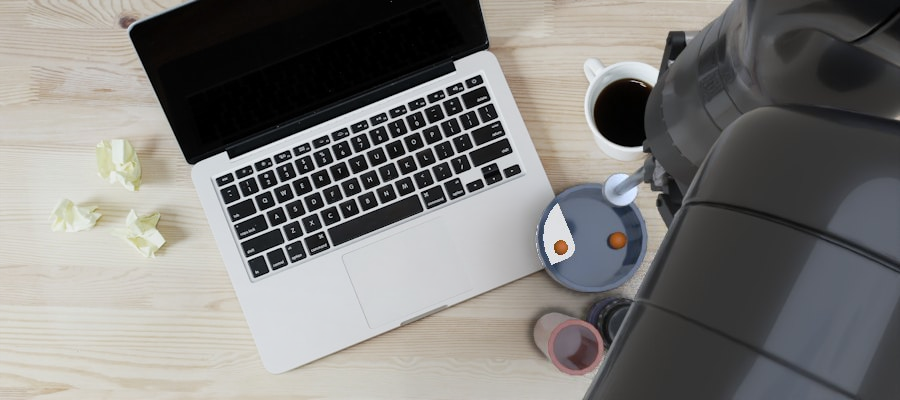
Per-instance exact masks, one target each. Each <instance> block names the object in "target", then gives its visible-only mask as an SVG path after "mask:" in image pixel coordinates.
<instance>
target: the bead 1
mask: <svg viewBox="0 0 900 400" xmlns="http://www.w3.org/2000/svg"><path fill="white" fill-rule="evenodd" d="M554 250H555V253H557V254H558V255H563V254H565V253H566V252H567V250H568V245H567V244H566V242H565V241H563V240H559V241H557V242H556V243H555V244H554Z"/></svg>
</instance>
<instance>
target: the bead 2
mask: <svg viewBox="0 0 900 400" xmlns="http://www.w3.org/2000/svg"><path fill="white" fill-rule="evenodd" d="M609 242H610V245H611V246H612V247H613V248H615V249H621V248H623V247H624V246H625V245H626V243H627V238H626V236H625V235H624V234H623V233H621V232H615V233H613V234H612V235H611V236H610V239H609Z"/></svg>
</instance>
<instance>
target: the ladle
mask: <svg viewBox="0 0 900 400" xmlns="http://www.w3.org/2000/svg"><path fill="white" fill-rule="evenodd" d="M655 160H656V158H655V156H654V155H653V153H650V154H649V155H648V156H647V157H646V158H645V159H644V161H643V165H642V166H640V167H639V168H638V169H636V170H635V171H634V172H632V173H631V174H628V173H625V172H616V173H613V174H611V175H609V176H608V178H606V179H605V181H604V182H603V184H602V185H603V187H602V195H603V198H604V199H605V201H606V202H607V203H608V204H609V205H611V206H613V207H625V206H627V205H629V204H631V203H632V202H633V203H634V201H635V200H636V198H637V196H638V193H639V187H638V186H639V185H640V184H642V183H644V173H645V172H646V171H648V170H649V169H650V168H652V167H653V166H655V165H656V161H655Z"/></svg>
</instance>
